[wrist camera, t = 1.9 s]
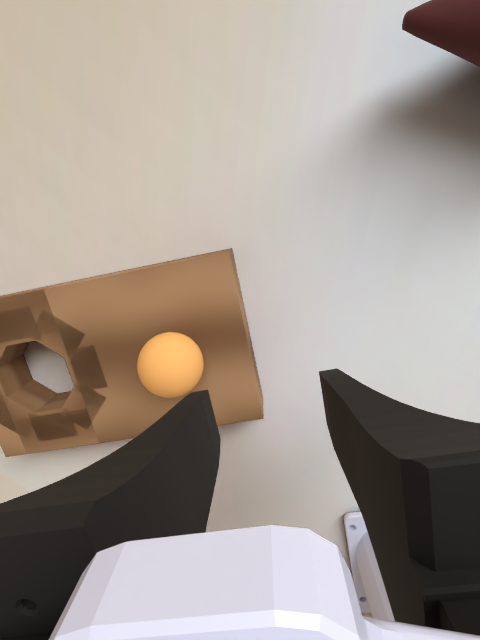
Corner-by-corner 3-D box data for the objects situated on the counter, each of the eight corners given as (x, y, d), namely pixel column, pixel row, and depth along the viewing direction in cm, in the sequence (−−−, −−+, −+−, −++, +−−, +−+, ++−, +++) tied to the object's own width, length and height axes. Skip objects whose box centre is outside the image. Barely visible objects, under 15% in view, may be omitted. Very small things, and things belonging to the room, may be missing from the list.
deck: (262, 398, 23) (263, 418, 20) (27, 434, 24) (2, 457, 22) (232, 248, 20) (228, 251, 18) (-29, 301, 22) (-64, 311, 20)
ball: (213, 374, 20) (204, 404, 16) (157, 384, 20) (138, 415, 17) (200, 319, 19) (187, 339, 16) (142, 329, 19) (118, 351, 16)
